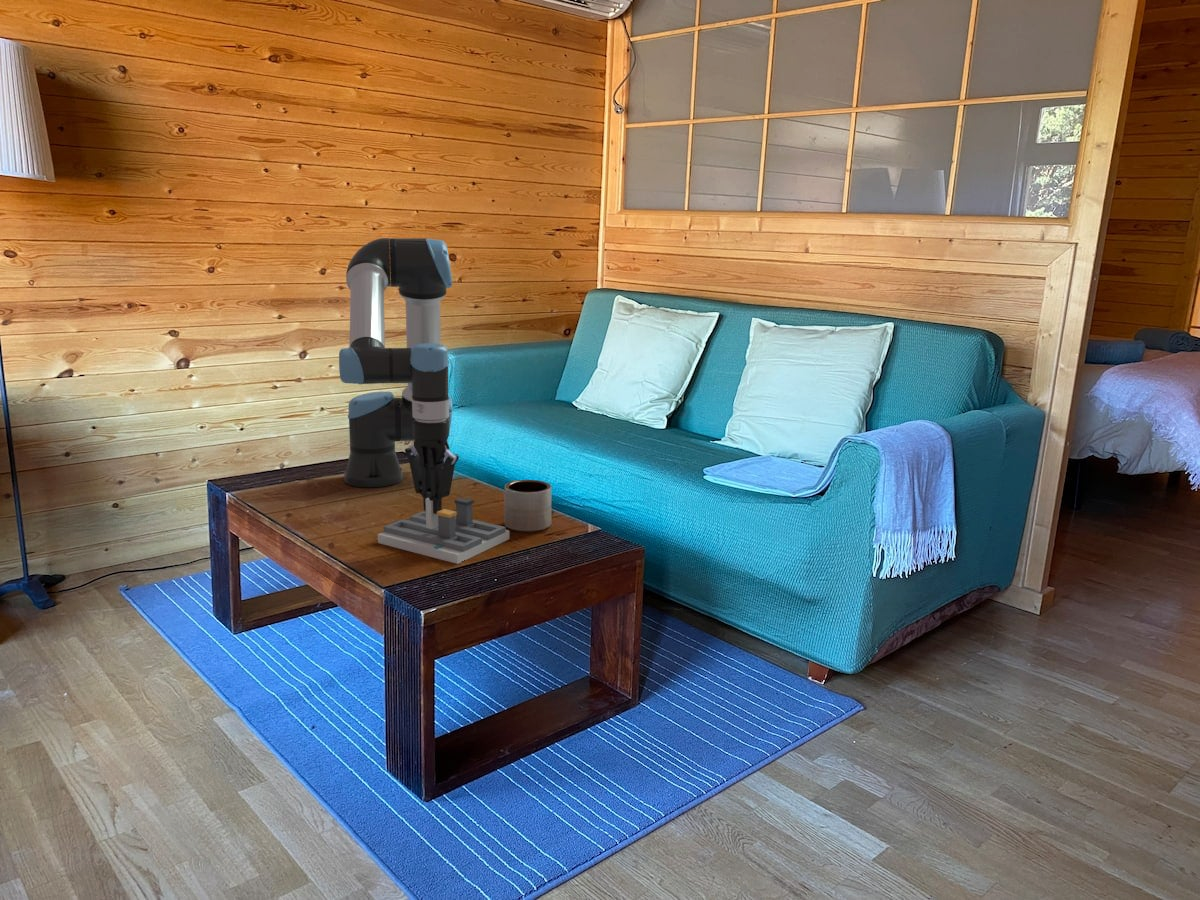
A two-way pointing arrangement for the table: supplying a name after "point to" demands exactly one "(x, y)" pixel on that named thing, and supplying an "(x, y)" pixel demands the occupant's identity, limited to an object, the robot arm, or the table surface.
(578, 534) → the table surface
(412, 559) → the table surface
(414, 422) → the robot arm
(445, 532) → the fader
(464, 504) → the fader
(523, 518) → the planter
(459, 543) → the console
